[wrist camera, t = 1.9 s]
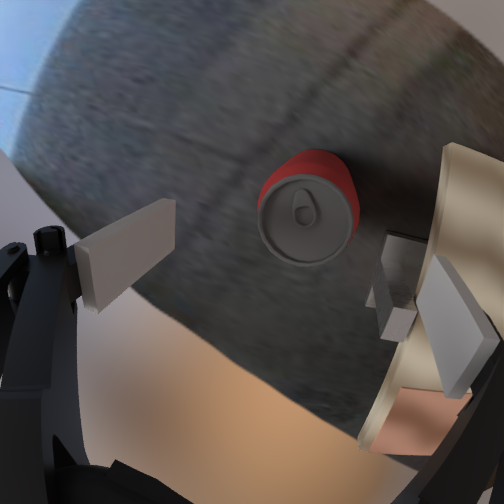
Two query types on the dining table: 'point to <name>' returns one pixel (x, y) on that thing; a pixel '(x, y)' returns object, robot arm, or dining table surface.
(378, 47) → the dining table surface
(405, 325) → the pivot stand
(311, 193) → the beer can
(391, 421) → the balance beam
